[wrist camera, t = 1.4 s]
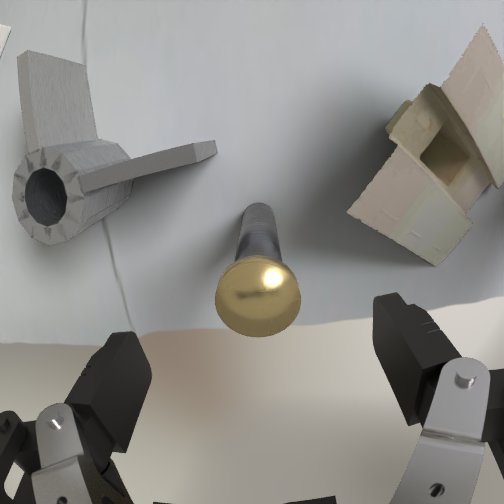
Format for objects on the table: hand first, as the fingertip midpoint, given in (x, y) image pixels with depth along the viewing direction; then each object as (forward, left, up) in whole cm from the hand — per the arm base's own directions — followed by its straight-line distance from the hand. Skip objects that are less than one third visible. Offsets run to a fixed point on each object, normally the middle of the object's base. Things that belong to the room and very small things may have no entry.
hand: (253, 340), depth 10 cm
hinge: (+8, -9, -15) cm, 20 cm away
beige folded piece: (-16, -3, -16) cm, 23 cm away
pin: (0, 0, -15) cm, 15 cm away
